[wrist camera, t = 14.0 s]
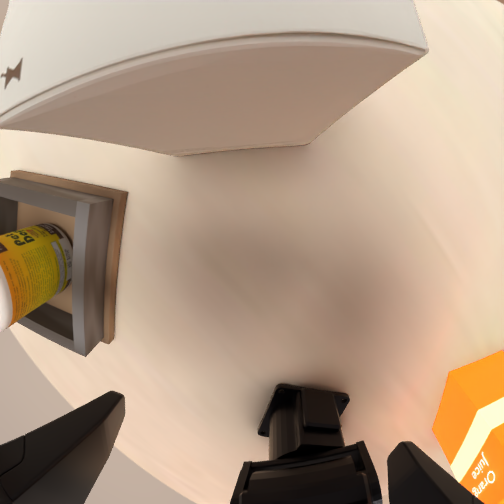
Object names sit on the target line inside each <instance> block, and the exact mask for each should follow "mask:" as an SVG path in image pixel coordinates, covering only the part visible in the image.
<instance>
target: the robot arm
mask: <svg viewBox="0 0 504 504" xmlns="http://www.w3.org/2000/svg"><path fill="white" fill-rule="evenodd" d="M279 390H283V391H279ZM342 399H344V400H342ZM349 401H350V399H349V395H348V394H344V393H336V392H328V391H321V390H314V389H308V388H302V387H296V386H290V385H284V384H280V385H277V386H276V387H275V390H274V392H273V395H272V397H271V400H270V402H269V404H268V407H267V409H266V411H265V414H264V416H263V419H262V421H261V423H260V425H259V428H258V435H260V436H265V437H269V461H260V462H252V461H249V462H244V464H243V467H242V470H241V471H240V474H239V477H238V480H237V483H236V486H235V489H234V492H233V495H232V498H231V501H230V504H382V494H381V488H380V484H379V480H378V476H377V473H376V470H375V468H374V465H373V463H372V460H371V458H370V455H369V453H368V450H367V448H366V446H365V443H364V441H360V442H356V444H353V445H349V446H345V443H344V439H343V435H342V430H341V427H342V426H341V422H340V416H341V414H342V413H343V411H344V409H345V408H346V406H347V404H348V403H349ZM124 416H125V397H124V395H123V394H121V393H118V392H115V391H109V392H107V393H106V394H104V395H102V396H100V397H98V398H96V399H94V400H92V401H91V402H89V403H87V404H85V405H83V406H81V407H79V408H77V409H75V410H73V411H71V412H69V413H68V414H66V415H64V416H62V417H60V418H58V419H56V420H54V421H52V422H50V423H48V424H46V425H44V426H42V427H40V428H37V429H35V430H33V431H31V432H29V433H27V434H25V436H24V435H23V436H21V437H18V438H16V439H14V440H11V441H9V442H7V443H4V444H2V445H0V504H84V503H85V500H86V499H87V497H88V495H89V493H90V491H91V489H92V487H93V485H94V484H95V482H96V480H97V478H98V476H99V474H100V472H101V470H102V469H103V467H104V465H105V463H106V461H107V460H108V458H109V456H110V453H111V451H112V448H113V445H114V443H115V440H116V437H117V435H118V432H119V430H120V427H121V425H122V422H123V419H124ZM263 431H264V432H263ZM387 466H388V491H389V502H390V504H485V503H484V502H482V501H481V500H480V499H478V498H477V497H476V496H475V495H474V494H472V493H471V492H470V491H469V490H468V489H466V488H465V487H464V486H463V485H462V484H460V483H459V482H458V481H457V480H455V479H454V478H453V477H452V476H451V475H450V474H448V473H447V472H446V471H445V470H444V469H443V468H441V467H440V466H439V465H438V464H437V463H436V462H434V461H433V460H432V459H431V458H430V457H429V456H428V455H426V454H425V453H424V452H423V451H422V450H421V449H420V448H418V447H417V446H416V445H415V444H414V443H413V442H411V441H404V442H400V443H399V444H398V445H397V446H396V448H395V449H394V450H393V451H392V452H391V454H390V455H389V456H388V460H387Z"/></svg>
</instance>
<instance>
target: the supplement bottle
mask: <svg viewBox="0 0 504 504" xmlns="http://www.w3.org/2000/svg"><path fill="white" fill-rule="evenodd" d="M72 258H73V249H72V246H71V244H70V242H69V240H68V238H67V237H66V235H65V234H64V233H63V232H62V231H61V230H60V229H59V228H57V227H56V226H54V225H52V224H47V223H43V224H38V225H34V226H31V227H27V228H24V229H20V230H17V231H13V232H10V233H7V234H4V235H0V332H1V331H3V330H5V329H7V328H8V327H10V326H11V325H12V324H14V323H15V322H17V321H18V320H20V319H21V318H23V317H24V316H25V315H27V314H28V313H30V312H31V311H33V310H34V309H36V308H37V307H39V306H41V305H42V304H44V303H45V302H47V301H48V300H50V299H51V298H53V297H54V296H56V295H58V294H59V293H61V292H62V291H64V290H65V289H66V288H67V287H68V286H69V285H70V283H71V282H72Z"/></svg>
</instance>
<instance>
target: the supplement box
mask: <svg viewBox="0 0 504 504" xmlns="http://www.w3.org/2000/svg"><path fill="white" fill-rule="evenodd" d="M428 52H429V47H428V44H427V41H426V37H425V34H424V31H423V28H422V25H421V22H420V19H419V16H418V13H417V10H416V7H415V4H414V1H413V0H9V7H8V11H7V14H6V17H5V21H4V24H3V27H2V31H1V35H0V129H9V130H20V131H30V132H40V133H48V134H56V135H64V136H71V137H77V138H84V139H90V140H96V141H102V142H107V143H113V144H118V145H123V146H128V147H133V148H139V149H143V150H148V151H154V152H158V153H163V154H167V155H172V156H185V155H192V154H200V153H208V152H217V151H227V150H238V149H250V148H265V147H282V146H298V145H306V144H309V143H310V142H312V141H313V140H314V139H315V138H317V137H318V136H319V135H320V134H321V133H322V132H324V131H325V130H326V129H327V128H328V127H330V126H331V125H332V124H333V123H335V122H336V121H337V120H338V119H340V118H341V117H342V116H343V115H345V114H346V113H347V112H348V111H350V110H351V109H352V108H353V107H355V106H356V105H357V104H358V103H360V102H361V101H363V100H364V99H365V98H367V97H368V96H369V95H371V94H372V93H373V92H375V91H376V90H377V89H379V88H380V87H381V86H383V85H384V84H385V83H387V82H388V81H389V80H391V79H392V78H393V77H395V76H396V75H397V74H399V73H400V72H402V71H403V70H404V69H406V68H407V67H409V66H410V65H412V64H413V63H414V62H416V61H417V60H419V59H420V58H421V57H423V56H424V55H426V54H427V53H428Z"/></svg>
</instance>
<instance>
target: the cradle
mask: <svg viewBox="0 0 504 504" xmlns="http://www.w3.org/2000/svg"><path fill="white" fill-rule="evenodd" d="M127 194H128V192H125V191H120V190H116V189H111V188H106V187H102V186H97V185H92V184H87V183H82V182H77V181H72V180H67V179H62V178H57V177H52V176H47V175H41V174H36V173H31V172H25V171H20V170H16V171H11V176H10V178H3V179H0V235H4V234H7V233H10V232H13V231H17V230H20V229H24V228H27V227H31V226H34V225H38V224H43V223H47V224H52V225H54V226H56V227H57V228H59V229H60V230H61V231H62V232H63V233H64V234H65V235H66V237H67V238H68V240H69V242H70V244H71V246H72V249H73V258H72V282H71V283H70V285H69V286H68V287H67V288H66V289H65V290H64V291H62V292H61V293H59V294H58V295H56V296H54V297H53V298H51V299H50V300H48V301H47V302H45V303H44V304H42V305H41V306H39V307H37V308H36V309H34V310H33V311H31V312H30V313H28V314H27V315H25V316H24V317H23V318H21V319H20V320H18V321H17V322H18V323H20V324H21V325H23V326H25V327H27V328H28V329H30V330H32V331H34V332H36V333H38V334H40V335H41V336H43V337H45V338H47V339H49V340H51V341H53V342H55V343H57V344H59V345H61V346H63V347H65V348H67V349H70V350H72V351H74V352H76V353H78V354H80V355H83V356H85V357H86V356H87V355H88V354H89V353H90V352H91V351H92V349H93V348H94V347H95V346H96V345H97V344H98V343H99V342H100V341H101V342H104V343H107V344H110V343H111V341H112V340H113V339H114V319H115V298H116V283H117V271H118V260H119V250H120V242H121V234H122V226H123V219H124V212H125V206H126V200H127Z"/></svg>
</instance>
